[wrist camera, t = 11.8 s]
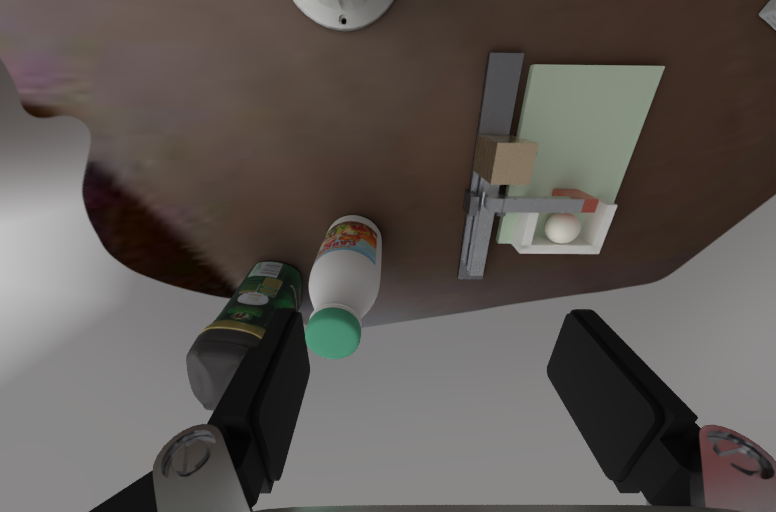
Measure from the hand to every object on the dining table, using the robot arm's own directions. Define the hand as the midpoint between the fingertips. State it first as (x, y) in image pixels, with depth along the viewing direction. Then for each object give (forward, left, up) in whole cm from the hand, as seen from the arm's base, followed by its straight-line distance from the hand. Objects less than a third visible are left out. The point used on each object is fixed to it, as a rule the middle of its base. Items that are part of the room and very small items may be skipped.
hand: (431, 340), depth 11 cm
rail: (+2, +11, -30) cm, 32 cm away
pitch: (0, +21, -30) cm, 37 cm away
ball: (+7, +21, -27) cm, 35 cm away
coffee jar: (+18, -18, -31) cm, 40 cm away
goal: (+7, +21, -29) cm, 37 cm away
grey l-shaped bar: (+5, +16, -29) cm, 33 cm away
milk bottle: (+10, -6, -31) cm, 33 cm away
